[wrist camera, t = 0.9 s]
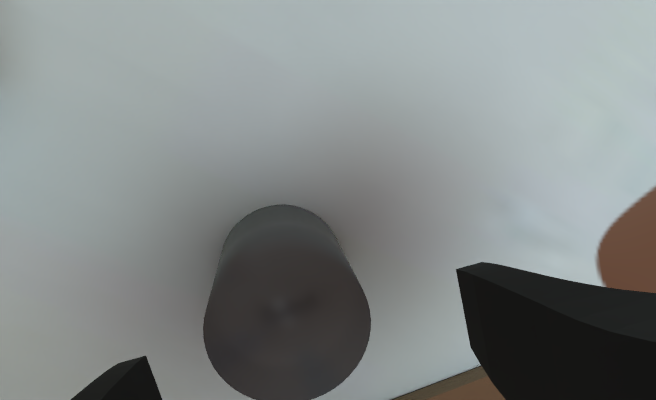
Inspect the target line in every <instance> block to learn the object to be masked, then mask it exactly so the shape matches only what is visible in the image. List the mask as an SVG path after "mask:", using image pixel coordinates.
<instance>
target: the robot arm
mask: <svg viewBox="0 0 656 400" xmlns="http://www.w3.org/2000/svg"><path fill="white" fill-rule="evenodd" d="M456 272H457V277H458V282H459V287H460V293H461V298H462V303H463V309H464V314H465V319H466V324H467V330H468V335H469V340H470V346H471V349H472V350H473V352H474V354H475V355H476V357H477V359H478V360H479V362H480V364H481V366H482V367H483V369H484V370H485V372H486V374H487V375H488V377H489V378H490V380H491V382H492V383H493V384H494V386H495V387H496V388H497V389H498V391H499V392H500V393H501V394H502V396H503V397H504V398H505V399H506V400H656V293H648V292H639V291H629V290H621V289H614V288H607V287H601V286H595V285H589V284H584V283H578V282H573V281H568V280H563V279H559V278H554V277H549V276H545V275H541V274H537V273H532V272H528V271H524V270H520V269H516V268H511V267H507V266H502V265H498V264H492V263H484V262H481V263H477V264H473V265H470V266H466V267H463V268H459V269H456ZM71 400H162V398H161V395H160V392H159V390H158V387H157V384H156V382H155V379H154V376H153V373H152V371H151V368H150V365H149V363H148V360H147V357H146V356H143V357H140V358H136V359H132V360H129V361H125V362H122V363H118V364H117V365H115V366H113V367H112V368H110V369H109V370H107V371H106V372H105V373H103V374H102V375H101V376H99V377H98V378H97V379H95V380H94V381H93V382H92V383H90V384H89V385H88V386H87V387H85V388H84V389H83V390H82V391H81V392H79V393H78V394H77V395H76V396H75V397H73V398H72V399H71Z"/></svg>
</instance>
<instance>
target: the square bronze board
mask: <svg viewBox="0 0 656 400" xmlns="http://www.w3.org/2000/svg"><path fill="white" fill-rule="evenodd" d="M393 400H506V399H505V398H504V397H503V396H502V394H501V393H500V392H499V391H498V389H497V388H496V387H495V386H494V384H493V383H492V382H491V380H490V378H489V377H488V375H487V374H486V372H485V370H484V369H483V367H482V366H480V367H478V368H475V369H472V370H470V371H467V372H464V373H462V374H459V375H457V376H454V377H451V378H449V379H446V380H443V381H441V382H438V383H435V384H433V385H430V386H427V387H425V388H422V389H420V390H417V391H414V392H412V393H409V394H406V395H404V396H401V397H398V398H396V399H393Z"/></svg>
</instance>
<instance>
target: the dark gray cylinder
mask: <svg viewBox="0 0 656 400" xmlns="http://www.w3.org/2000/svg"><path fill="white" fill-rule="evenodd" d="M370 328H371V318H370V310H369V306H368V302H367V299H366V296H365V294H364V292H363V290H362V288H361V286H360V284H359V282H358V280H357V278H356V276H355V274H354V272H353V270H352V268H351V266H350V264H349V262H348V261H347V259H346V257H345V255H344V253H343V251H342V249H341V247H340V245H339V243H338V241H337V239H336V237H335V235H334V234H333V232H332V230H331V229H330V228H329V226H328V225H327V224H326V223H325V222H324V221H323V220H322V219H321V218H319V217H318V216H317V215H315V214H314V213H312V212H310V211H308V210H306V209H303V208H300V207H296V206H291V205H273V206H268V207H264V208H261V209H258V210H256V211H254V212H252V213H250V214H249V215H247V216H246V217H244V218H243V219H242V220H240V221H239V222H238V223H237V224H236V225H235V227H234V228H233V229H232V231H231V232H230V233H229V235H228V237H227V239H226V241H225V244H224V246H223V250H222V253H221V257H220V261H219V264H218V268H217V272H216V276H215V279H214V283H213V287H212V290H211V294H210V298H209V301H208V305H207V309H206V313H205V317H204V326H203V333H204V342H205V348H206V351H207V354H208V357H209V359H210V361H211V363H212V365H213V367H214V368H215V370H216V371H217V372H218V374H219V375H220V376H221V377H222V378H223V379H224V381H225V382H226V383H228V384H229V385H230V386H231V387H233V388H234V389H235V390H237V391H239V392H240V393H242V394H244V395H246V396H248V397H250V398H253V399H256V400H311V399H314V398H317V397H319V396H321V395H323V394H325V393H327V392H329V391H331V390H332V389H334V388H335V387H337V386H338V385H339V384H341V383H342V382H343V381H344V380H345V379H346V378H347V377H348V376H349V375H350V374H351V373H352V372H353V370H354V369H355V368H356V367H357V365H358V363H359V362H360V360H361V359H362V357H363V354H364V352H365V350H366V347H367V344H368V341H369V336H370Z"/></svg>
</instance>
